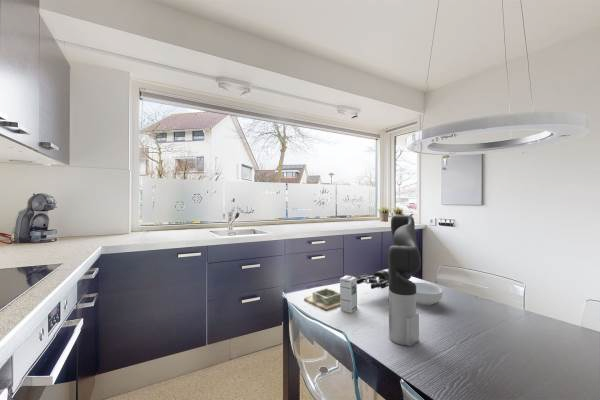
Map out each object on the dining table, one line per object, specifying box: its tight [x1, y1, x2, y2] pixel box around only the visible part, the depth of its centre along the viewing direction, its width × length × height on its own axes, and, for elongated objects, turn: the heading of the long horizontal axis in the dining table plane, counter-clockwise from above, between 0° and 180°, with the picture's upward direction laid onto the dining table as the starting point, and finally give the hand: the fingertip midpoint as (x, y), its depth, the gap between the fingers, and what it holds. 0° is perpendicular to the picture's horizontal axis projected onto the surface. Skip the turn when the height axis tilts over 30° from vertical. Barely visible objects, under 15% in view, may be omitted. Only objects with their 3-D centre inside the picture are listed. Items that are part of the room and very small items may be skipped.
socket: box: [303, 287, 340, 311], centre depth 130 cm, size 16×16×4 cm
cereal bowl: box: [413, 282, 443, 306], centre depth 128 cm, size 17×17×7 cm
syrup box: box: [339, 275, 358, 313], centre depth 120 cm, size 6×6×14 cm
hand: (364, 284), depth 127 cm, fingers open, 8 cm apart
